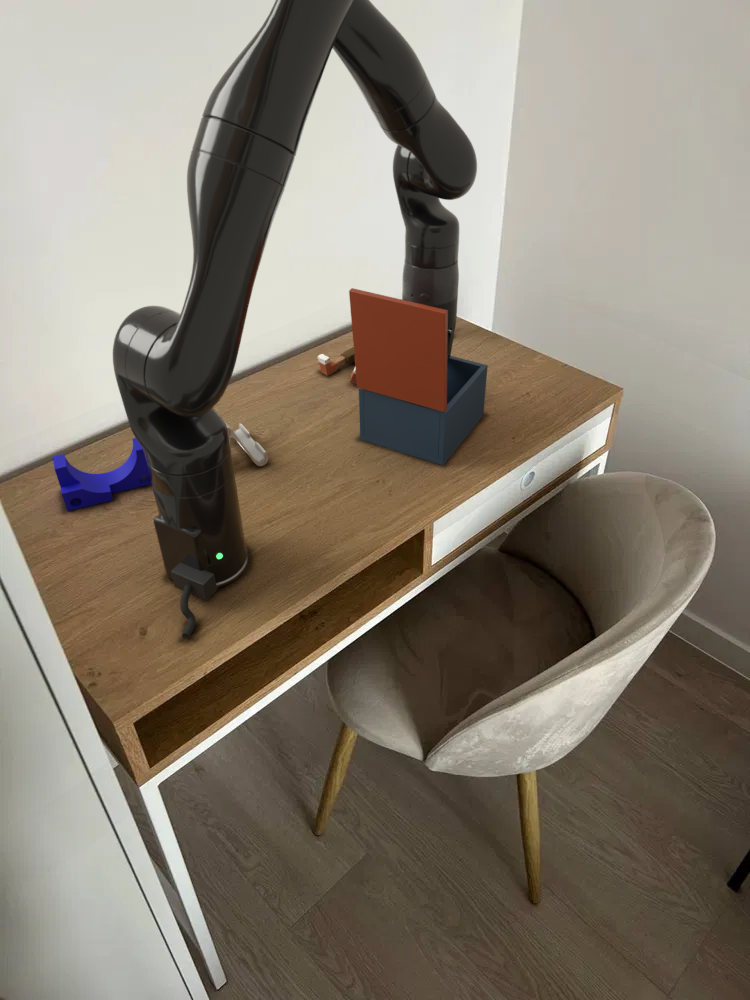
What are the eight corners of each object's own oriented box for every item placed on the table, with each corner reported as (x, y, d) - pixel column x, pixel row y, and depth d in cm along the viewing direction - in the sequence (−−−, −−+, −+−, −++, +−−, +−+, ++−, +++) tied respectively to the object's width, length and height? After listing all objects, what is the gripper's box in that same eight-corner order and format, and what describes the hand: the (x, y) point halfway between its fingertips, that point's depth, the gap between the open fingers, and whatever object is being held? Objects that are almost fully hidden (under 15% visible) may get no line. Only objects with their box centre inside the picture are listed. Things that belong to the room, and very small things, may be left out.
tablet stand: (268, 464, 116) (262, 415, 111) (217, 482, 113) (208, 433, 108) (243, 434, 122) (236, 386, 117) (194, 451, 119) (185, 403, 113)
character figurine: (305, 348, 135) (383, 303, 143) (309, 372, 139) (385, 327, 147) (352, 375, 129) (432, 326, 137) (356, 400, 132) (433, 351, 140)
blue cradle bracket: (67, 511, 109) (55, 475, 105) (64, 491, 112) (52, 456, 108) (157, 489, 112) (149, 454, 108) (151, 471, 115) (143, 436, 112)
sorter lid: (351, 287, 104) (348, 290, 104) (448, 310, 99) (445, 313, 99) (359, 384, 115) (356, 387, 114) (447, 409, 110) (444, 412, 109)
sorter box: (405, 393, 130) (405, 344, 125) (483, 415, 125) (487, 365, 120) (359, 439, 121) (358, 388, 115) (443, 465, 115) (445, 413, 110)
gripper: (428, 265, 116) (424, 370, 127) (380, 305, 106) (381, 415, 117) (476, 276, 113) (469, 382, 124) (432, 318, 104) (427, 429, 114)
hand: (426, 397), depth 121 cm, fingers closed on walnut block, 4 cm apart
